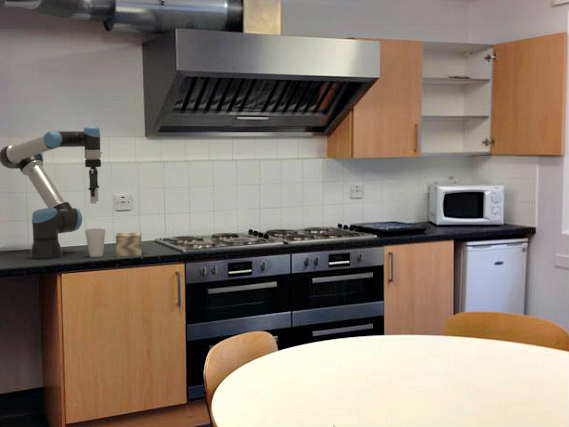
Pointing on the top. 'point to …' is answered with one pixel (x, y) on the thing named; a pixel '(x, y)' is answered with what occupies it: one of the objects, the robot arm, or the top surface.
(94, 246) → the foam cup
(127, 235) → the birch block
